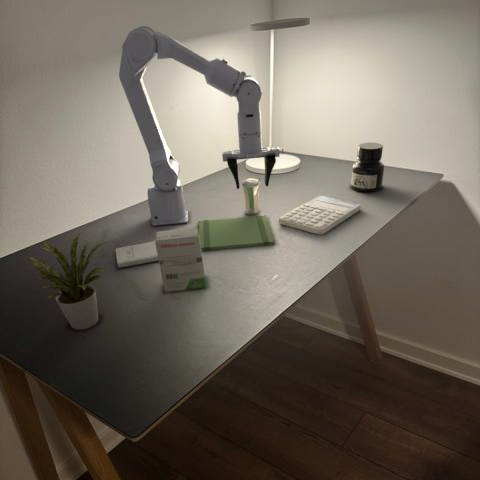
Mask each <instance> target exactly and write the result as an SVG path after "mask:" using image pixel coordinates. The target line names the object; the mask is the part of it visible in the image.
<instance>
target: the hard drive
mask: <svg viewBox="0 0 480 480" xmlns="http://www.w3.org/2000/svg"><path fill="white" fill-rule="evenodd" d="M115 255H116V264H117V267H118V269H121V268H128V267H134V266H138V265H143V264H148V263H153V262H159V259H158V254H157V249H156V244H155V240H154V241H148V242H143V243H139V244H132V245H127V246H122V247H116V248H115Z"/></svg>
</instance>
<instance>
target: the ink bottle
mask: <svg viewBox="0 0 480 480" xmlns="http://www.w3.org/2000/svg"><path fill="white" fill-rule="evenodd" d="M383 149H384V145H383V144H382V143H378V142H362V143H359V144H358V146H357V152H356V153H357V154H356V155H357V156H356V159H357V160H356V161H355V162H354V163H352V170H351V181H350V188H351V189H353V190H355V191H358V192H363V193H372V192H377V191H379V190H380V189H381V188H382V187H383V181H384V173H385V164H384V163H383V162H382V161H381V160H382V157H383Z"/></svg>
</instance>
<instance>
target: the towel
mask: <svg viewBox="0 0 480 480" xmlns="http://www.w3.org/2000/svg"><path fill="white" fill-rule="evenodd" d="M198 231H199V238H200V245H201V252H203V251H213V250H214V251H215V250H227V249H237V248H238V249H239V248H249V247H261V246H271V245H272V246H273V245H275V242H276V241H275V238H274V236H273V232H272V229H271V226H270V223H269V219H268V216H267V215H266V214H265V215H261V214H260V215H254V216H243V217H231V218H230V217H229V218H220V219H204V220H199V221H198Z"/></svg>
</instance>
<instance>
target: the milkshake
mask: <svg viewBox="0 0 480 480" xmlns="http://www.w3.org/2000/svg"><path fill="white" fill-rule="evenodd" d="M260 181H261V177H259V179H257V178H253V177H252V178H250V177H249V178H245V179H244V180H243V181H242V183H241V185H242V190H243V199H244V206H245V213H246V214H247V215H256V214H258V213H259V201H260V200H259V199H260V197H259V196H260Z"/></svg>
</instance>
